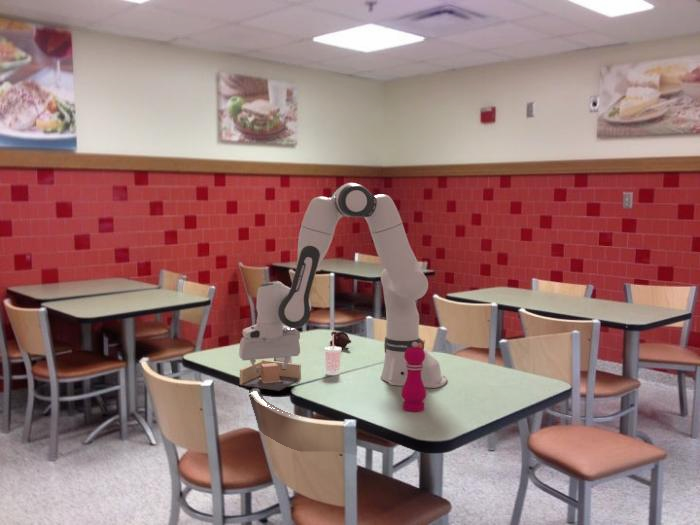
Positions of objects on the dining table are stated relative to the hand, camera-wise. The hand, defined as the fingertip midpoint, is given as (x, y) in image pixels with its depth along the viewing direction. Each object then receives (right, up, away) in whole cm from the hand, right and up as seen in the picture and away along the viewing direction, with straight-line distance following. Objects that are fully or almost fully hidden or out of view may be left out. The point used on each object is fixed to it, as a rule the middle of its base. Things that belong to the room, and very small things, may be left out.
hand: (270, 370), depth 213 cm
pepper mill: (+45, -7, -26) cm, 53 cm away
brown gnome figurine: (+23, +1, +51) cm, 55 cm away
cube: (0, -3, 0) cm, 3 cm away
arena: (+1, -4, -1) cm, 4 cm away
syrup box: (+2, -2, +23) cm, 23 cm away
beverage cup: (+21, -3, +11) cm, 24 cm away
